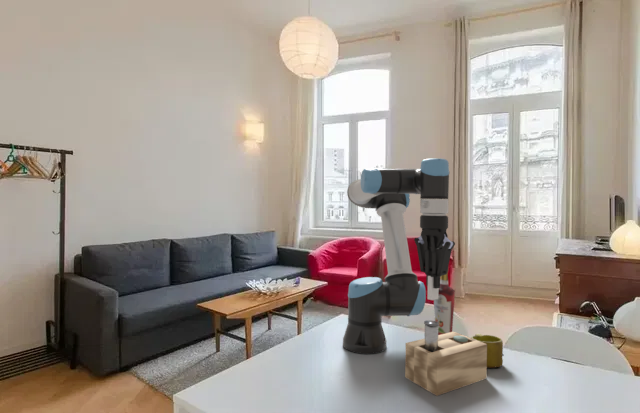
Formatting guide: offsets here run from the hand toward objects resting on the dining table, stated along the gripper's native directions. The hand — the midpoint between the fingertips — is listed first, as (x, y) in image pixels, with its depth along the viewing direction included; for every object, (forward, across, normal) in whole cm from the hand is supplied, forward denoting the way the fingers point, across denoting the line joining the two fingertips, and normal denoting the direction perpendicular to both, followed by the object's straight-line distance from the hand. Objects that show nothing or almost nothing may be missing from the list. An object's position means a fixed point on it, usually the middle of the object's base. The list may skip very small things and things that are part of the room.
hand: (432, 298), depth 108 cm
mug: (+24, -2, +26) cm, 35 cm away
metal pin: (+17, 0, 0) cm, 17 cm away
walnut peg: (+23, 0, +12) cm, 26 cm away
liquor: (+24, -20, +27) cm, 41 cm away
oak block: (+24, 0, +6) cm, 24 cm away
